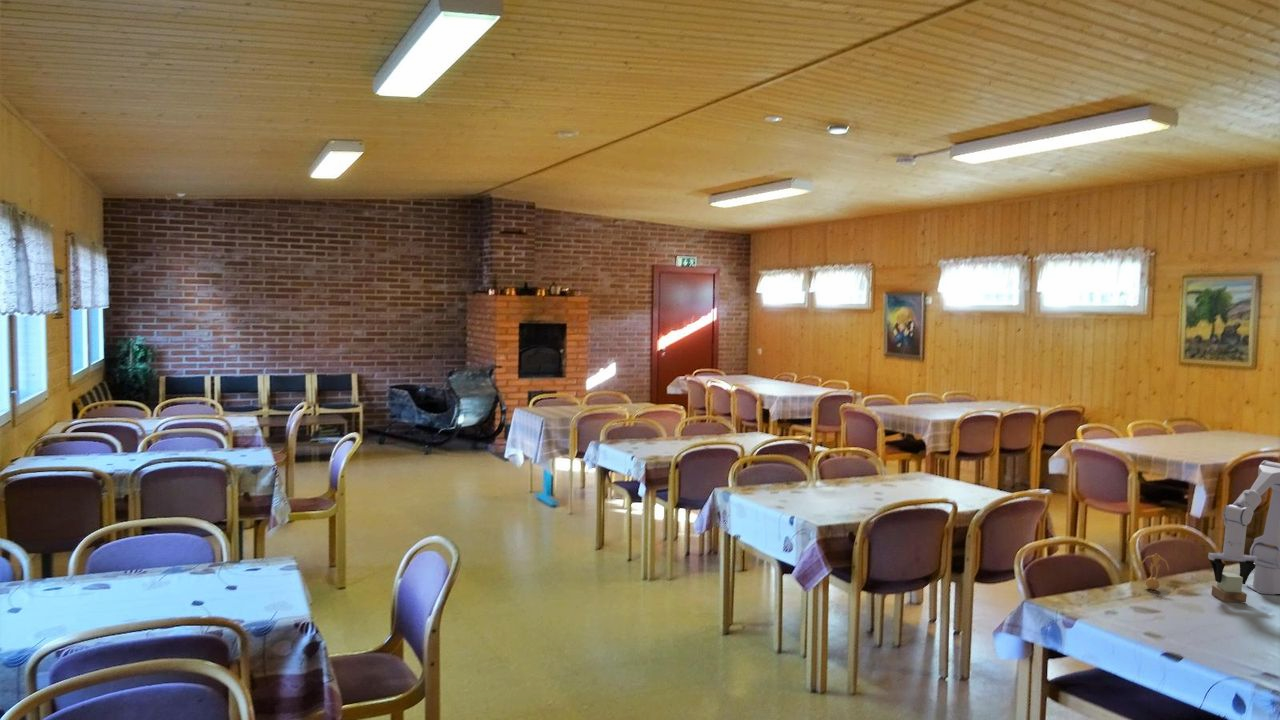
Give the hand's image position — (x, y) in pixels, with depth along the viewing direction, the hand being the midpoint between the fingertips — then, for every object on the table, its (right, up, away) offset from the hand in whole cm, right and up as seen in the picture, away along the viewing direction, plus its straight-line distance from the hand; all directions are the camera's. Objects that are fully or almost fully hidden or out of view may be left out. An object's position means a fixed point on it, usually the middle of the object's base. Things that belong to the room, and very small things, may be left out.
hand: (1230, 582), depth 300 cm
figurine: (-21, -4, +7) cm, 23 cm away
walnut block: (0, -5, 0) cm, 5 cm away
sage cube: (0, -2, 0) cm, 2 cm away
